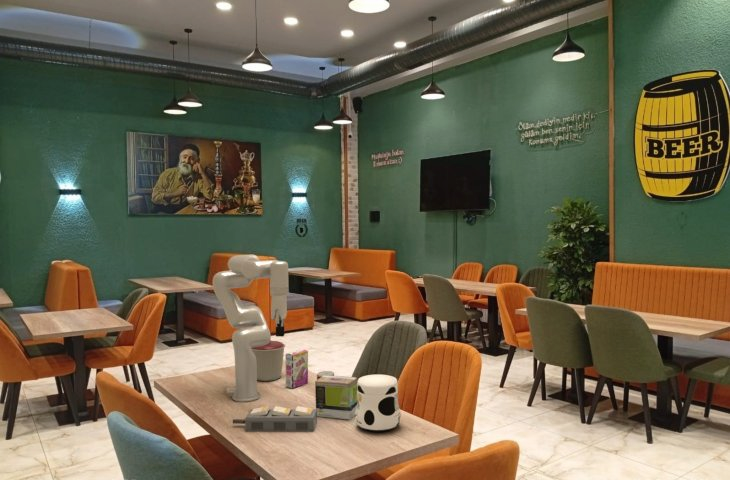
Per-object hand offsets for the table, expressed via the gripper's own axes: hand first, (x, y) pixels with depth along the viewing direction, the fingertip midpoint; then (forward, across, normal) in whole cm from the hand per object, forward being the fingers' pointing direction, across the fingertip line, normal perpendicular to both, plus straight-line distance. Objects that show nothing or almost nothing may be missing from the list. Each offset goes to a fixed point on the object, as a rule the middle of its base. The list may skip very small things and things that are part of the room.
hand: (280, 335), depth 221 cm
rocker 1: (+26, +14, -6) cm, 31 cm away
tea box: (+32, +1, +23) cm, 40 cm away
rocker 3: (+26, +14, +12) cm, 32 cm away
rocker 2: (+26, +14, +3) cm, 30 cm away
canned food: (+32, -20, +16) cm, 41 cm away
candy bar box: (+32, -38, 0) cm, 50 cm away
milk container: (+32, +14, +40) cm, 53 cm away
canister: (+32, -50, -17) cm, 62 cm away
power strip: (+32, +15, 0) cm, 35 cm away
